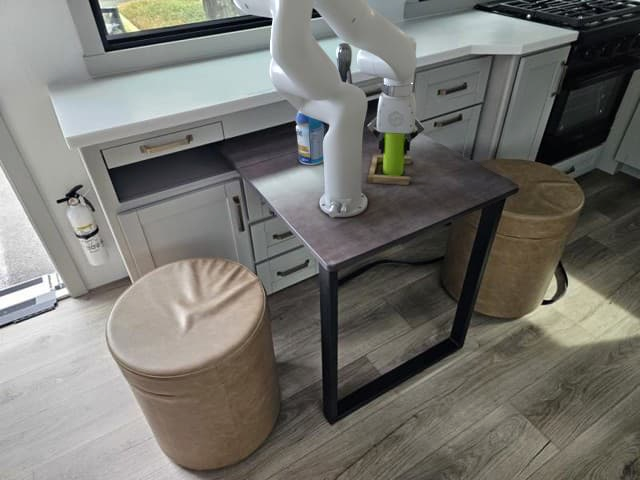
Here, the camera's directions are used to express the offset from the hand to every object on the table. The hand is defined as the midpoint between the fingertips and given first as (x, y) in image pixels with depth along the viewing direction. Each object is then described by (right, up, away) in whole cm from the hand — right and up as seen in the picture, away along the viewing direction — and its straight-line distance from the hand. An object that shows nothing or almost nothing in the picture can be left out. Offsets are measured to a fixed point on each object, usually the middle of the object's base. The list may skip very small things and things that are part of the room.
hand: (394, 151), depth 122 cm
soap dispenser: (+1, -5, +4) cm, 7 cm away
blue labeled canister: (-24, 0, +13) cm, 27 cm away
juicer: (-14, +10, +26) cm, 31 cm away
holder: (-1, -5, +4) cm, 7 cm away
